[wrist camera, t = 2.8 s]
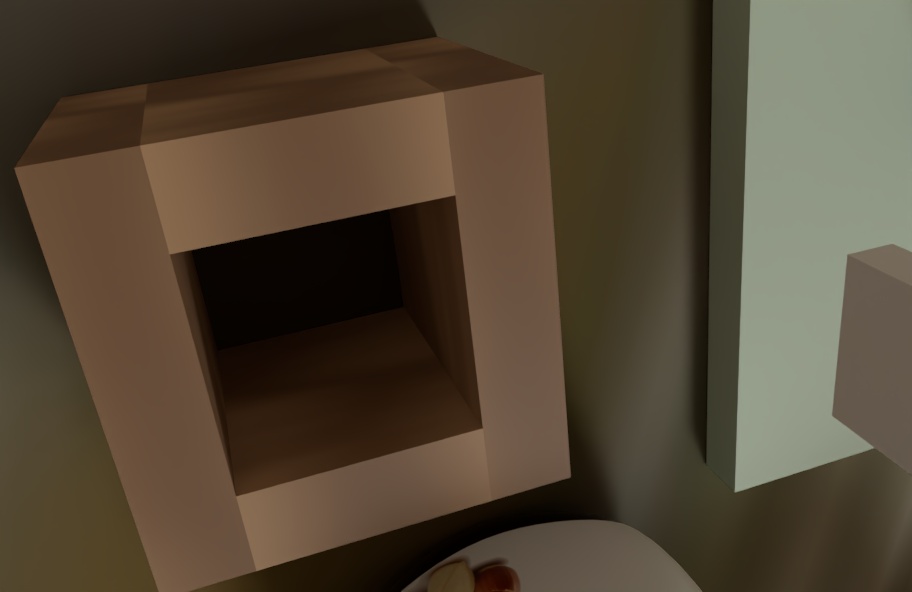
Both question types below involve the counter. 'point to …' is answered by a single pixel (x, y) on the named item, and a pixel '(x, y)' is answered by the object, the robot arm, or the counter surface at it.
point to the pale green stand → (797, 215)
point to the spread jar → (548, 559)
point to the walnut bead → (322, 348)
